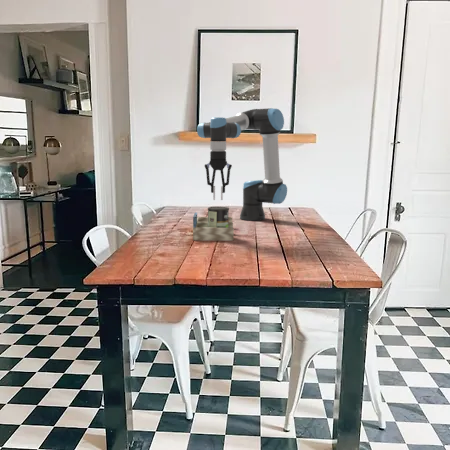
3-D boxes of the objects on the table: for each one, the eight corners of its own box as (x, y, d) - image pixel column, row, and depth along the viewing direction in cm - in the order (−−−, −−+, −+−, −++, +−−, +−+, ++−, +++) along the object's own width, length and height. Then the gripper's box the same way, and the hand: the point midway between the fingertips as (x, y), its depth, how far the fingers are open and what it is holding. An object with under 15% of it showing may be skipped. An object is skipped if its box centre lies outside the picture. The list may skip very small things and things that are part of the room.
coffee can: (230, 234, 235) (230, 206, 232) (226, 238, 225) (226, 209, 222) (210, 233, 237) (210, 206, 234) (205, 237, 227) (205, 209, 224)
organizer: (232, 228, 254) (232, 207, 252) (233, 240, 223) (233, 217, 221) (196, 227, 253) (196, 207, 251) (193, 240, 222) (192, 217, 220)
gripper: (234, 150, 227) (234, 198, 231) (201, 150, 227) (201, 198, 231) (235, 151, 219) (234, 200, 224) (201, 150, 219) (201, 200, 223)
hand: (218, 199), depth 227 cm, fingers open, 3 cm apart
